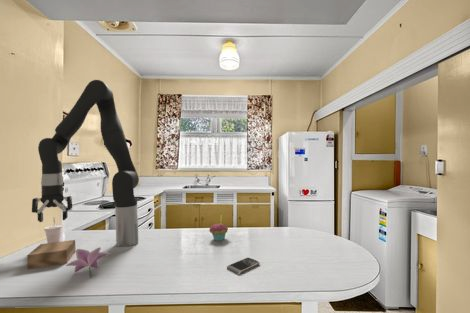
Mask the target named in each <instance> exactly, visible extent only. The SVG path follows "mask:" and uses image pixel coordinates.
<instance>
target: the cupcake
mask: <svg viewBox="0 0 470 313" xmlns="http://www.w3.org/2000/svg"><path fill="white" fill-rule="evenodd" d="M222 220H223V215H222V214H221V215H220V218H219V223H214V224H212V225H211V226H210V227H209V231H208V232H210V233H211V235H212V237H213V240H214V241H218V242H219V241H224V239H225V237H226V234H227V233H228V230H229V227H228V226H227V225H226V224H224V223H223V222H222Z"/></svg>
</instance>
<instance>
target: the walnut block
mask: <svg viewBox="0 0 470 313" xmlns="http://www.w3.org/2000/svg"><path fill="white" fill-rule="evenodd" d="M76 250H77V249H76V239H73V240H72V239H71V240H63V241H60V242H54V243H40V244H39V245H38V246H37V247H35V248H34V249H33V250H31V251H30V252H29V253H28V254H27V255H26V258H27V259H26V260H27V261H26V262H27V269H28V270H31V269H36V268H37V269H38V268H42V267H50V266H51V267H52V266H57V264H58V265H62V264H63V263H65V264H68V262H69V261H70V259H71V258H72V257H73V256H74V255H75V254H76ZM63 265H64V264H63Z"/></svg>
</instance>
